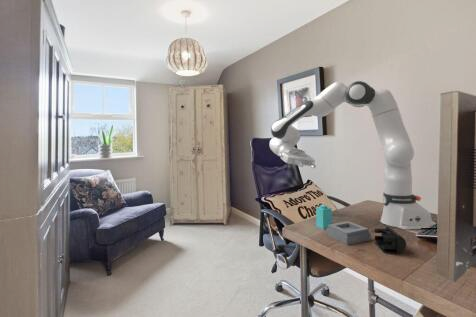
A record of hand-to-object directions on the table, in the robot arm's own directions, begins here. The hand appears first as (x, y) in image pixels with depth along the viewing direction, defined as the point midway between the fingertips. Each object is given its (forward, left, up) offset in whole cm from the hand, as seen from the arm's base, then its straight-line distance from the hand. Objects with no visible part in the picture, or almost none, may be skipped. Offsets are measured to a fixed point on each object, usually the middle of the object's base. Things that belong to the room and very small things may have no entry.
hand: (308, 166), depth 129 cm
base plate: (-13, +21, -28) cm, 37 cm away
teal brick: (-6, +8, -28) cm, 30 cm away
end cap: (-26, +31, -28) cm, 49 cm away
